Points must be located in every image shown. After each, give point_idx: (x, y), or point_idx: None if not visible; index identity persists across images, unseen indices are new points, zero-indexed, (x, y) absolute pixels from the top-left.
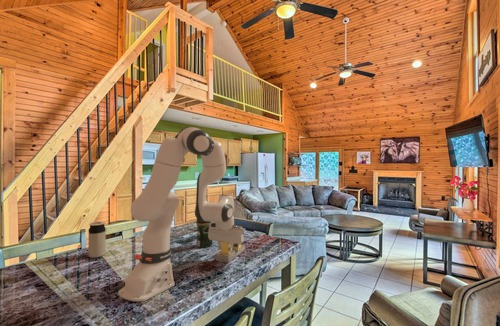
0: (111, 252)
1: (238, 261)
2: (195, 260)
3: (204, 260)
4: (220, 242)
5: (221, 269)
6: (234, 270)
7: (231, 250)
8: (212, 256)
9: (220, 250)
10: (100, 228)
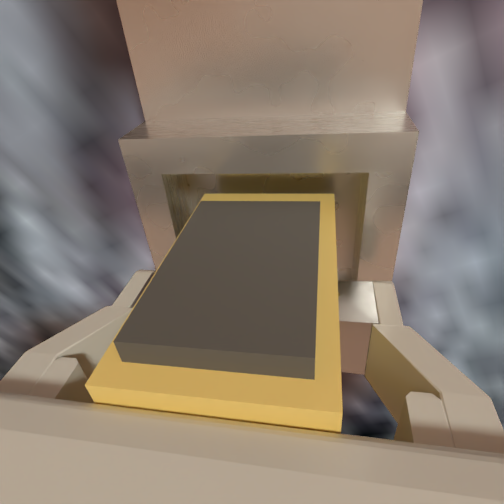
0: None
1: (494, 209)
2: (53, 324)
3: (110, 305)
4: (75, 355)
5: (360, 396)
6: (491, 391)
7: (332, 161)
8: (88, 198)
9: (149, 236)
10: None
